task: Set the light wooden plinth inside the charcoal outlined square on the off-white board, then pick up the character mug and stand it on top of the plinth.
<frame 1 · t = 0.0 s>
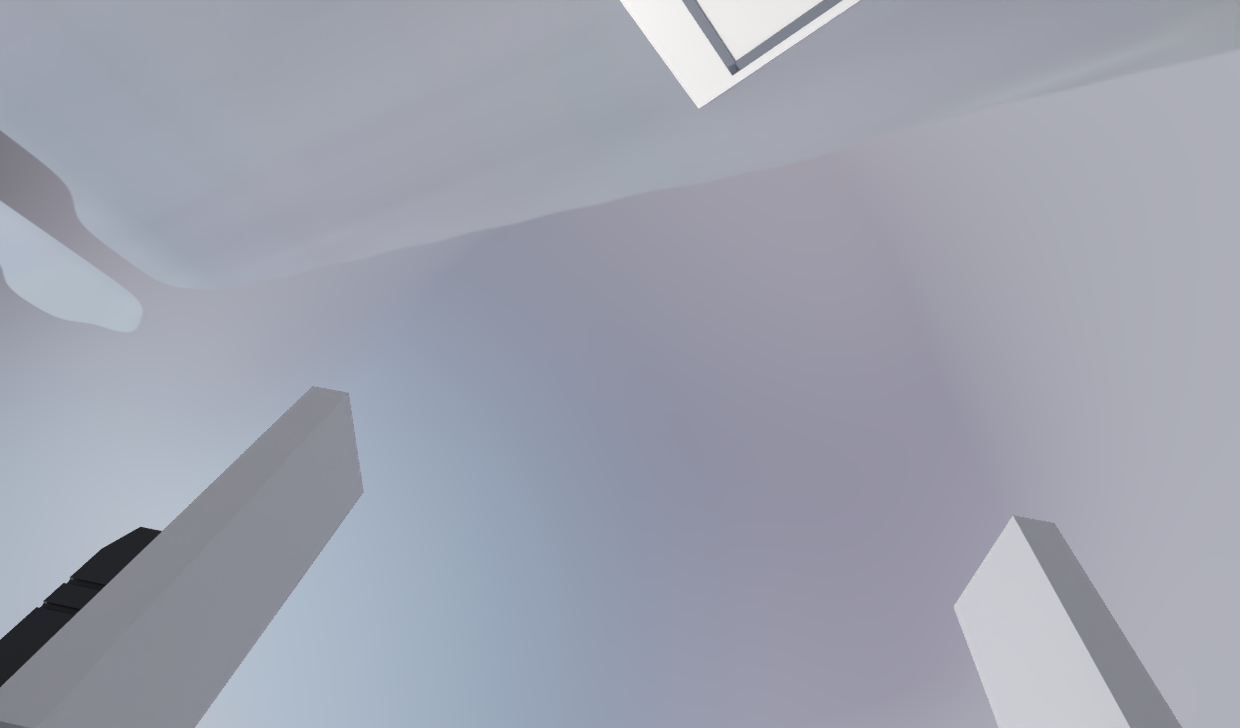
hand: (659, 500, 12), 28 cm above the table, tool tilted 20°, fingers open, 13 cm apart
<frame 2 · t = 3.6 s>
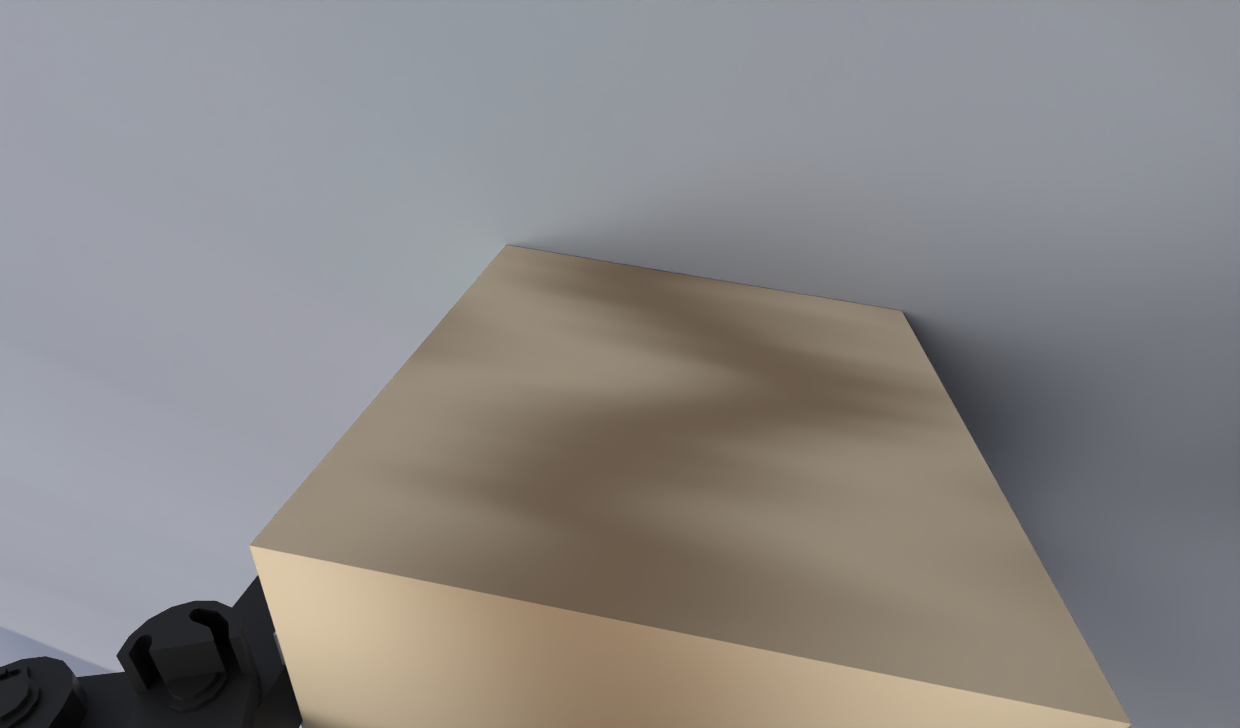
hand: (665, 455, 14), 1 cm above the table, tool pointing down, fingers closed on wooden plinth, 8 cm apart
wooden plinth: (668, 432, 14), on the table, touching gripper
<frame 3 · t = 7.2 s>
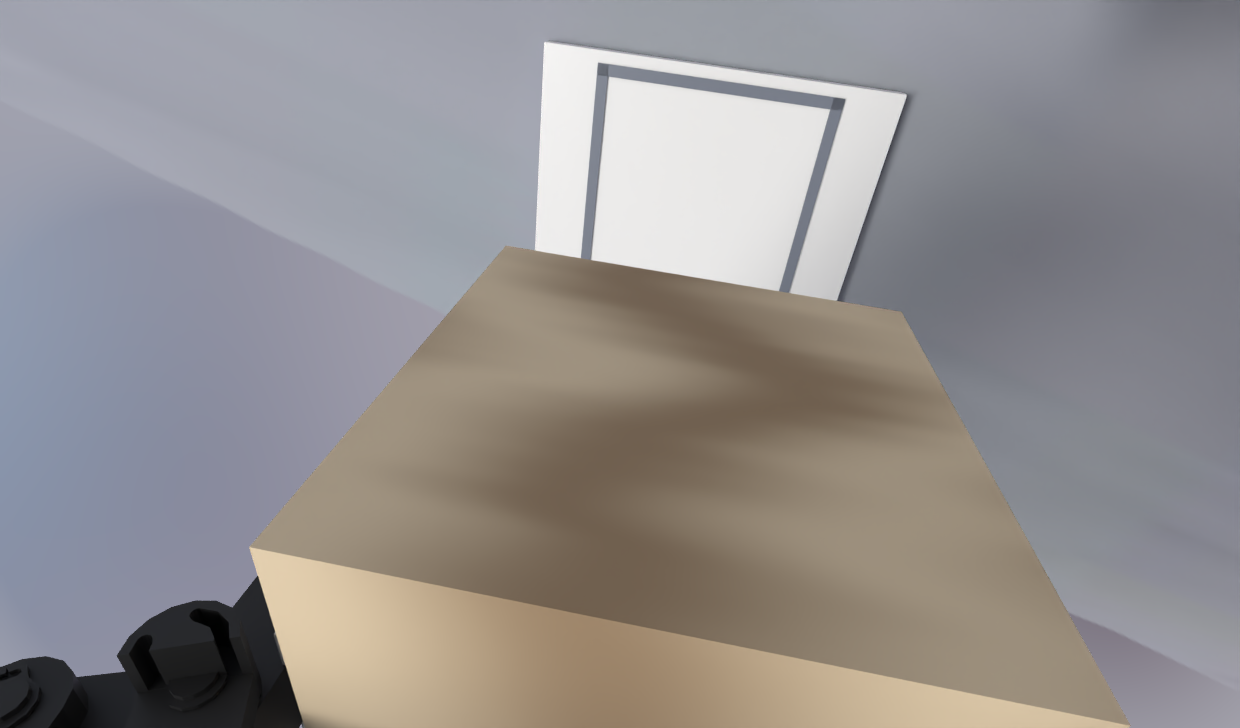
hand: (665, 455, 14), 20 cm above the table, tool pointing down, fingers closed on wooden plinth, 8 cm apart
wooden plinth: (668, 433, 14), point 19 cm above the table, touching gripper
blueprint board: (697, 197, 31), on the table
when the fingers open (3 cm above the table, at t = 10.6 s): wooden plinth drops 1 cm, resting on blueprint board.
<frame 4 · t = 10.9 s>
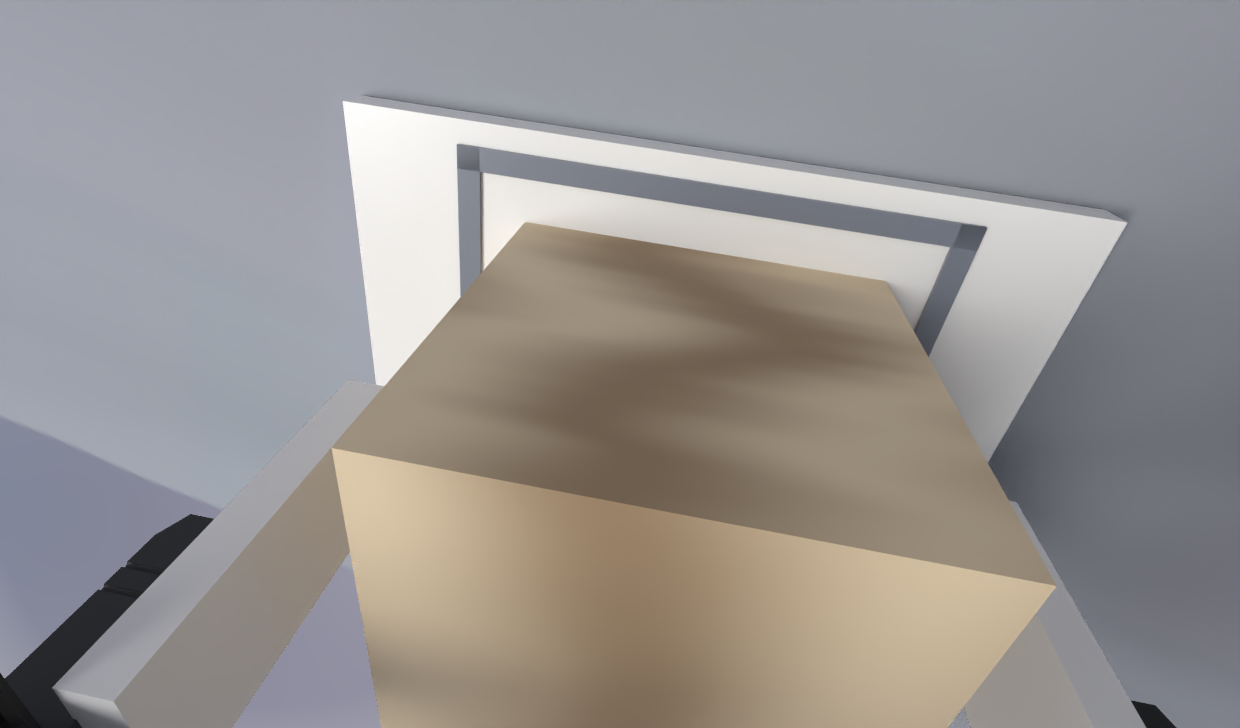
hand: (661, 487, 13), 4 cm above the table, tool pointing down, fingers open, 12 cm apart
wooden plinth: (672, 397, 16), point 1 cm above the table, touching blueprint board
blueprint board: (674, 381, 16), on the table
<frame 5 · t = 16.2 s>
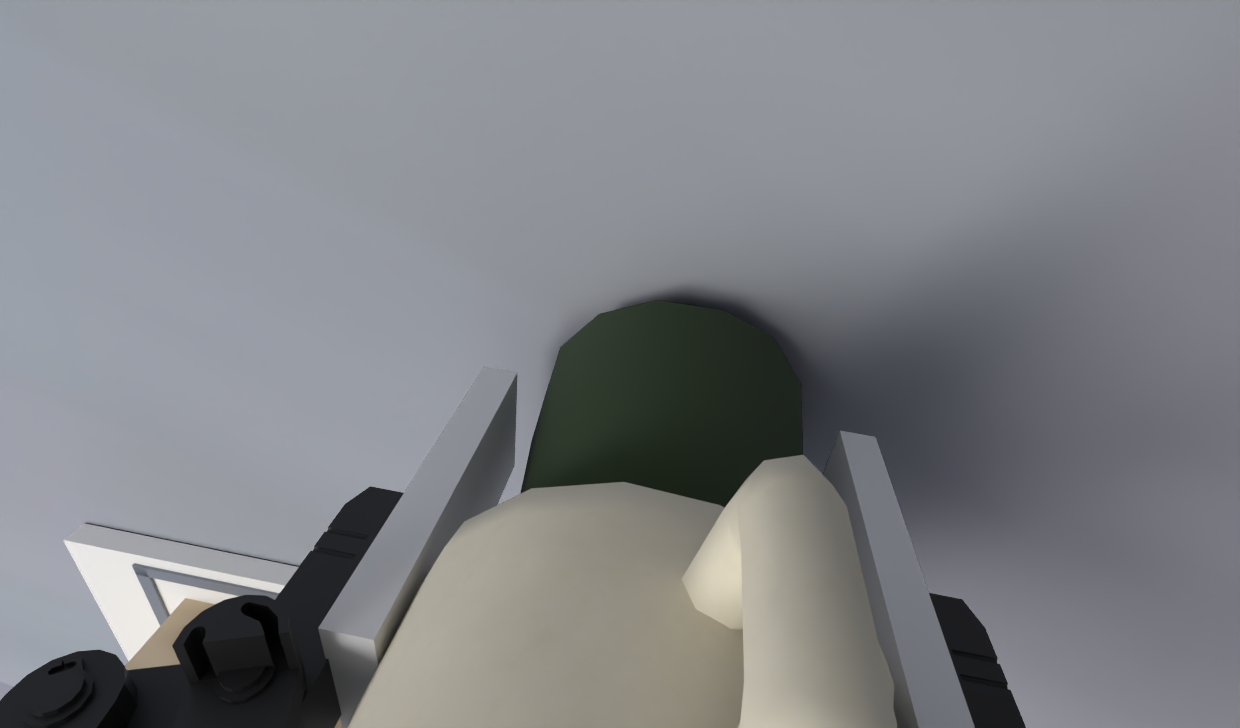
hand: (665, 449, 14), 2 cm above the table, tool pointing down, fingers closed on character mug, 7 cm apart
wooden plinth: (306, 682, 24), point 1 cm above the table, touching blueprint board
blueprint board: (318, 663, 25), on the table
character mug: (674, 393, 16), on the table, touching gripper
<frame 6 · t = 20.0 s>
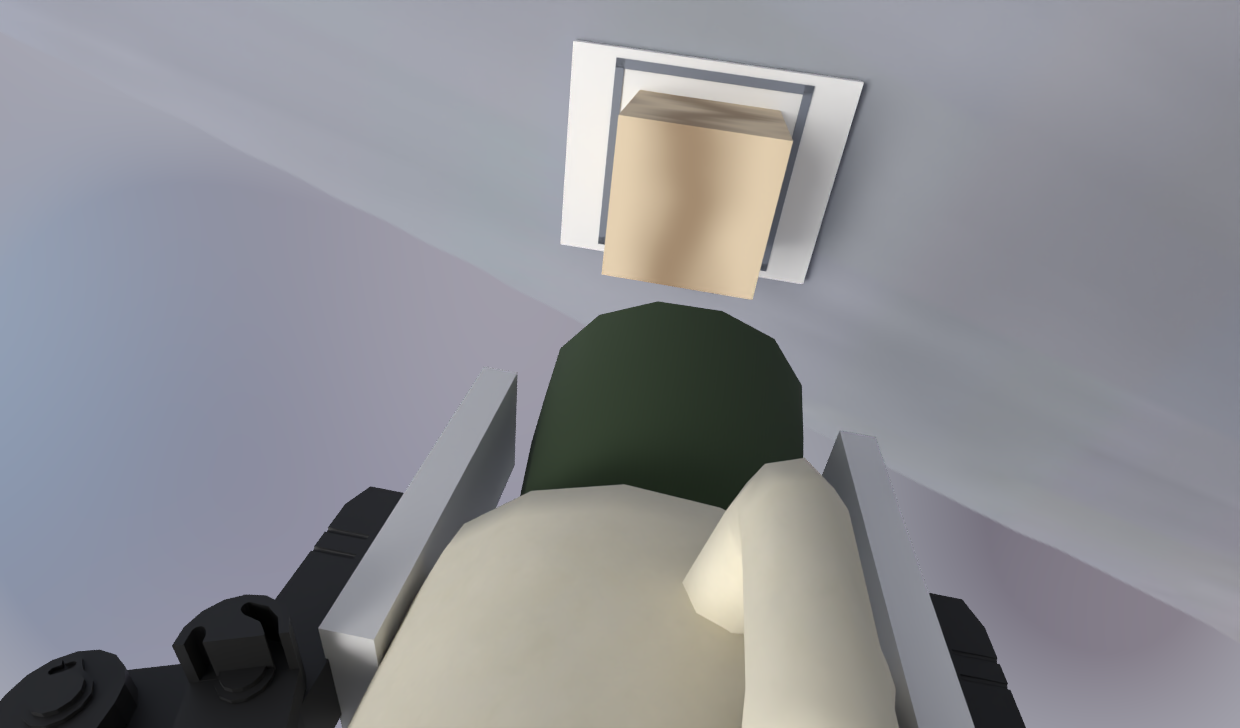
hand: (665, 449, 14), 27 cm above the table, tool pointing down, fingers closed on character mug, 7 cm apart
wooden plinth: (696, 171, 37), point 1 cm above the table, touching blueprint board
blueprint board: (697, 168, 37), on the table
character mug: (674, 394, 16), point 25 cm above the table, touching gripper
when the fingers open (12 cm above the table, at t = 24.1 s): character mug drops 1 cm, resting on wooden plinth.
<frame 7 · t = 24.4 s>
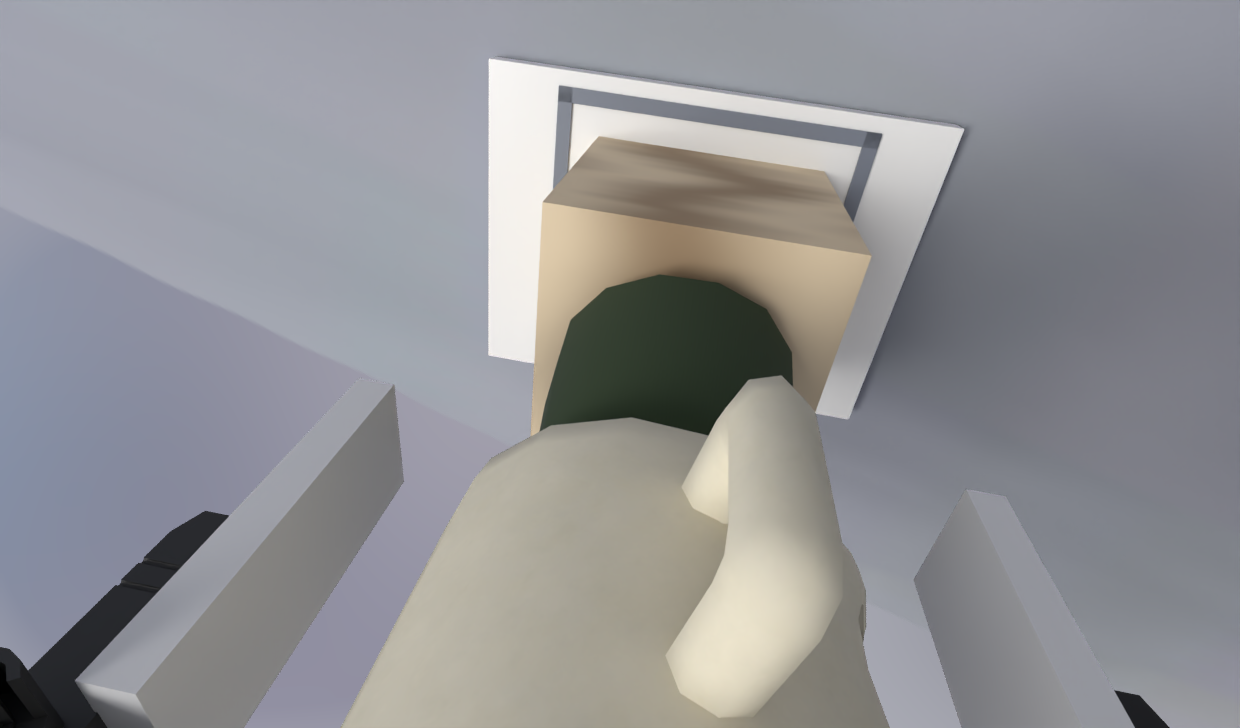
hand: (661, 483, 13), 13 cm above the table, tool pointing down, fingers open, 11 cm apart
wooden plinth: (689, 259, 24), point 1 cm above the table, touching blueprint board, character mug
blueprint board: (690, 252, 24), on the table
character mug: (675, 364, 17), point 9 cm above the table, touching wooden plinth
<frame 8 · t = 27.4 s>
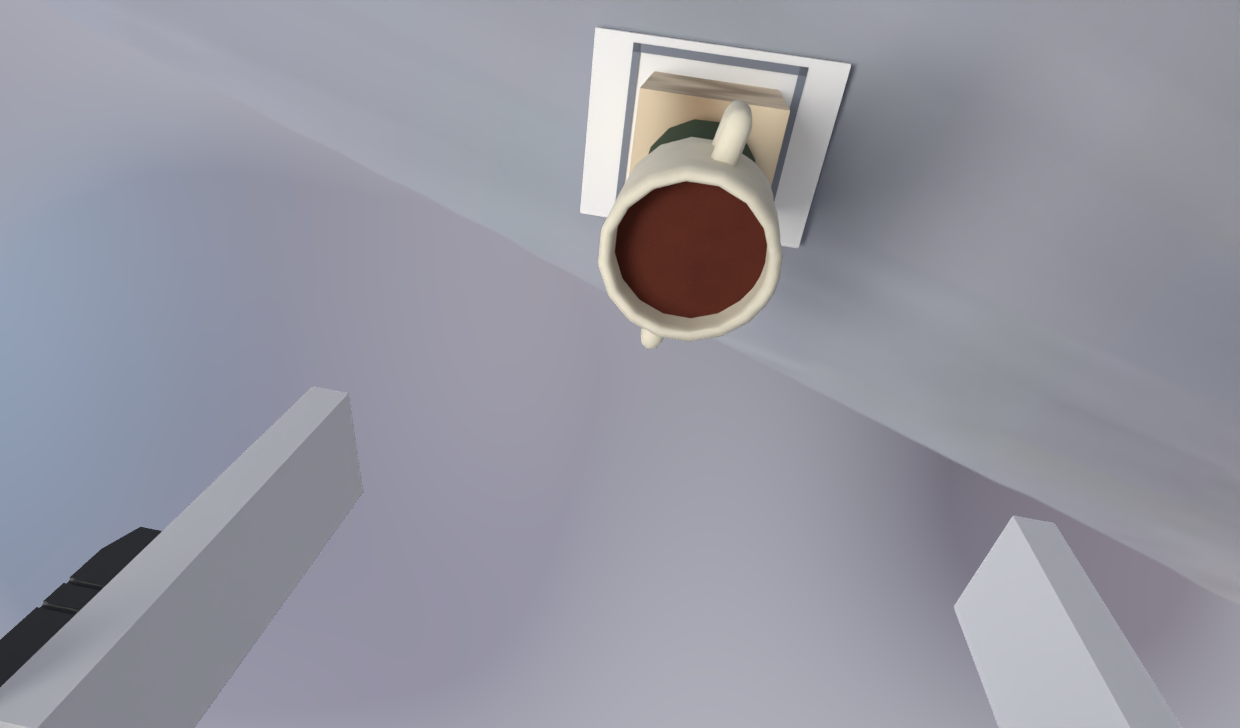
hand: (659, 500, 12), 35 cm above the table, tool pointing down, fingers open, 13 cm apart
wooden plinth: (703, 144, 41), point 1 cm above the table, touching blueprint board, character mug
blueprint board: (703, 142, 42), on the table
character mug: (699, 174, 34), point 9 cm above the table, touching wooden plinth
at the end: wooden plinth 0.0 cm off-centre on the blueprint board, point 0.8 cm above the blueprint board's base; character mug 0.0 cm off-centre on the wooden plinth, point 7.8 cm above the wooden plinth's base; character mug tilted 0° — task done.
